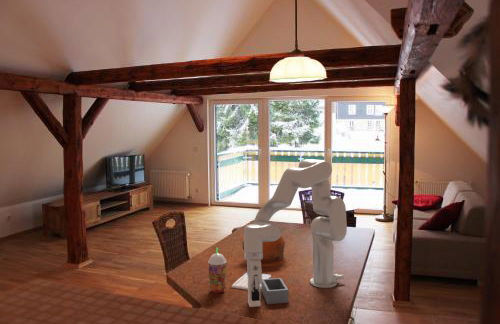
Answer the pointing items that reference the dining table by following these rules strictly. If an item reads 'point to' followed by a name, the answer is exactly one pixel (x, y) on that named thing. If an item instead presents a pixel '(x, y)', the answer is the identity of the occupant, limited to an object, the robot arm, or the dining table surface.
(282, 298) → the grey open box
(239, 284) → the calculator
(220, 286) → the smoothie
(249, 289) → the post
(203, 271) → the dining table surface
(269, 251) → the pumpkin
